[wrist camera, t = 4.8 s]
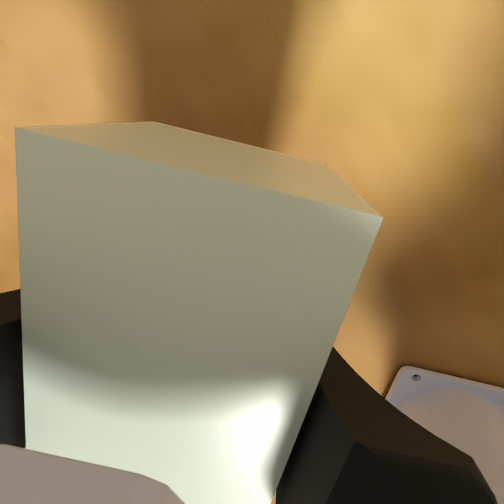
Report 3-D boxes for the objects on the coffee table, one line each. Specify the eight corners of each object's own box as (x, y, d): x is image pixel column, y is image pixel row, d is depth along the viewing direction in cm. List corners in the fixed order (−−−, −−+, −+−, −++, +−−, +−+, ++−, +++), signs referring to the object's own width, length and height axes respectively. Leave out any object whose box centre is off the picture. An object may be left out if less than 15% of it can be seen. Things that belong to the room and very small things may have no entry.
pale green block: (326, 163, 12) (383, 217, 5) (250, 410, 16) (235, 593, 10) (153, 121, 11) (14, 127, 5) (124, 382, 16) (29, 550, 10)
